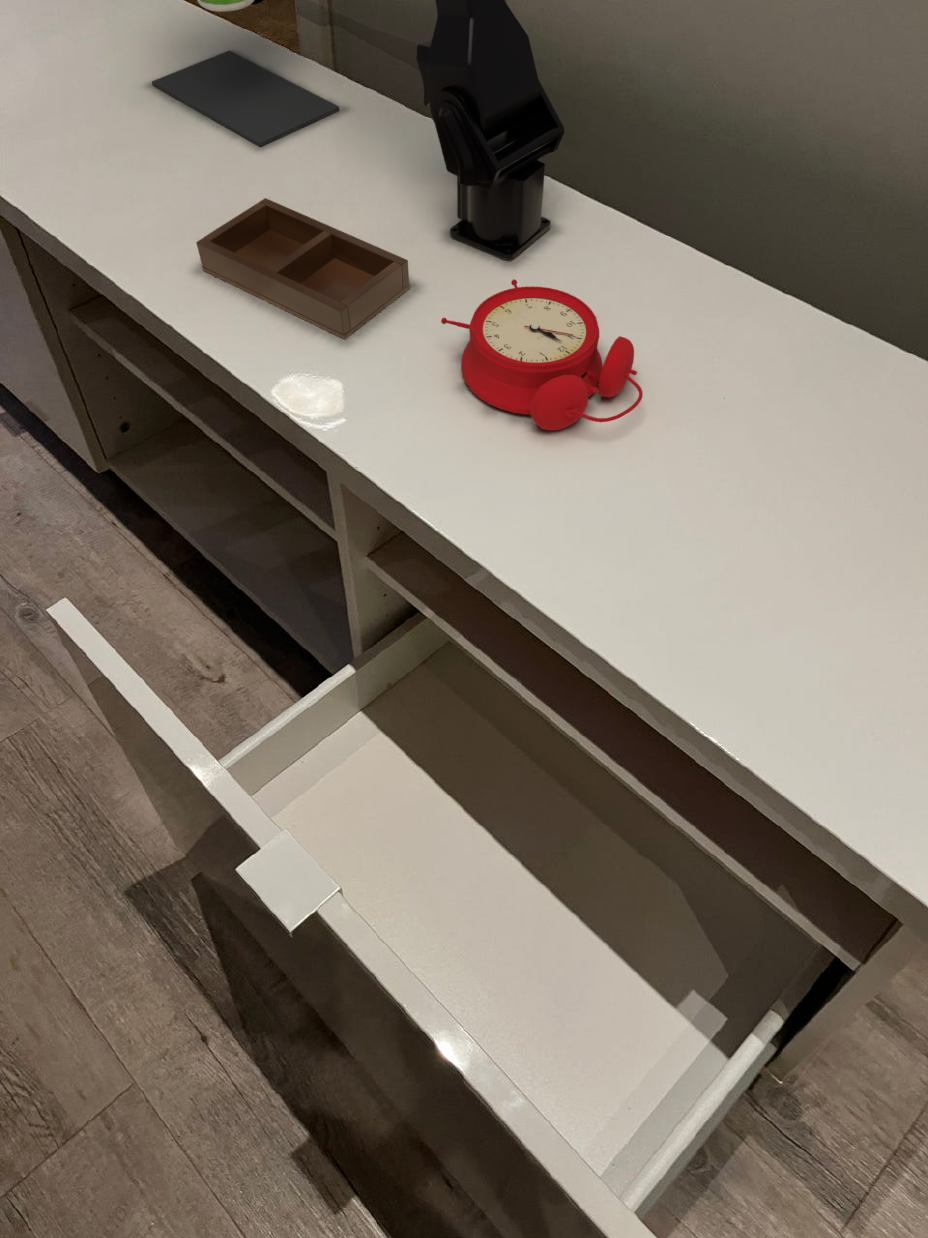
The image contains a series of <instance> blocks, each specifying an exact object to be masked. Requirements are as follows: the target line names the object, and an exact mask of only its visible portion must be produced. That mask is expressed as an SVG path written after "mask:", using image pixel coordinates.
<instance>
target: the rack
mask: <svg viewBox="0 0 928 1238" xmlns="http://www.w3.org/2000/svg"><path fill="white" fill-rule="evenodd" d="M195 243H196V247H197V251H198V255H199V258H200V259H199V260H200V262H201V266H202V267H201V268H202V271H203V272H205V273H207V274H209V275H210V276H211V275H212V276H213V277H216V278H217V279H220V280H222V281H224V282H226V283H228V284H230V285H232V286H234V287H236V288H238V289H240V290H242V291H244V292H246V293H248V294H250V295H252V296H254V297H256V298H258V299H260V300H262V301H265V302H266V303H269V304H271V305H273V306H275V307H277V308H279V309H281V310H283V311H285V312H287V313H289V314H291V315H293V316H295V317H297V318H299V319H301V320H304V321H305V322H308V323H309V324H312V325H314V326H316V327H318V328H320V329H322V330H324V331H325V332H328V333H330V334H332V335H334V336H336V337H338V338H340V339H342V340H346V339H348V338H349V337H350V336H351V335H352V334H354V333H355V332H356V331H358V330H359V329H360V328H361V327H362V326H364V325H366V324H367V323H368V322H369V321H370V320H371V319H373V318H374V317H375V316H377V315H378V314H379V313H380V312H382V311H384V310H385V308H387V307H389V305H391V304H392V303H393V302H395V301H396V300H397V299H398V298H400V297H401V296H402V295H403V294H405V293H406V292H407V291H409V290H410V273H409V260H408V259H406V258H404V257H402V256H399V255H397V254H395V253H392V252H390V251H388V250H386V249H383V248H381V247H379V246H377V245H374V244H372V243H370V242H367V241H365V240H363V239H361V238H358V237H356V236H354V235H351V234H349V233H347V232H344V231H342V230H340V229H337V228H335V227H333V226H330V225H329V224H327V223H324V222H321V221H319V220H317V219H315V218H312V217H310V216H308V215H305V214H303V213H301V212H298V211H296V210H294V209H292V208H289V207H287V206H285V205H283V204H281V203H279V202H275V201H273V200H271V199H269V198H266V197H265V198H263V199H261V200H260V201H259V202H257V203H255V204H253V205H252V206H250V207H248V208H247V209H246V210H244V211H242V212H240V213H239V214H238V215H236V216H235V217H233V218H232V219H229V220H228V221H227V222H225V223H224V224H222V225H220V226H219V227H217V228H215V229H214V230H212V231H211V232H210V233H208V234H206V235H205V236H203V238H201V239H198V240H197V241H196V242H195Z"/></svg>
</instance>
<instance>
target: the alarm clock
mask: <svg viewBox="0 0 928 1238" xmlns="http://www.w3.org/2000/svg"><path fill="white" fill-rule="evenodd" d="M510 284H511V285H512V286H513V288H508V289H505V290H501V291H499V292H496V293H494V294H493V295H490V296H489V297H487V298H486V299H485V300H483V301H481V303H480V304H479V305H478V306H477V308H476V309H475V310H474V312H473V315H472V317H471V320H470V323H469V324H468V323H464V322H460V321H454V320H448V319H447V317H442V318H441V321H440V323H441V324H442V325H446V324H449V325H453V326H457V327H459V328H462V329H468V331H469V341H468V342H467V344H466V345H465V347H464V349H463V352H462V355H461V362H460V363H461V365H460V367H461V368H460V369H461V374H462V378H463V380H464V382H465V384H466V385H467V387H468V388H469V390H470V391H471V392H472V393H473V394H474V395H475V396H476V397H478V398H479V399H480V400H482V401H483V402H485V403H486V404H488V405H490V406H492V407H495V408H497V409H499V410H502V411H506V412H510V413H514V414H521V415H530V417H531V419H532V420H533V422H534V424H535V425H537V426H538V427H539V429H543V430H546V431H559V430H563V429H565V428H568V427H569V426H572V425H573V424H575V423H576V422H577V421H578V420H579V419H580V418H583V419H586V420H588V421H591V422H596V423H607V422H611V421H615V420H618V419H620V418H622V417H624V416H626V415H627V414H629V413H630V412H632V411H633V410H634V409H635V408H636V407H638V405H639V404H640V402H642V399H643V396H644V395H643V394H644V393H643V389H642V387H641V386H640V384H638V382H636V381H635V380H634V379H633V378H632V377H631V376H630V375H633V376H636V375H637V373H638V371H637V370H634V369H632V368H633V365H634V359H635V347H634V344H633V343H632V341H631V339H629V338H627V337H624V336H621V335H619V336H618V337H616V338H615V340H614V341H613V343H612V345H611V346H610V348H609V350H608V352H607V354H606V356H605V359H604V361H603V359H602V356H601V353H600V351H599V349H598V345H599V340H600V327H599V322H598V319H597V317H596V315H595V313H594V311H593V310H592V308H591V307H589V306H588V304H587V303H585V302H584V300H583V301H582V299H580V298H578V297H577V296H575V295H573V294H570V293H568V292H566V291H563V290H560V289H556V288H551V287H545V286H534V285H533V286H518V280H517V279H515V278H514V279H512V280H511V282H510ZM627 381H628V382H630V383H631V384H632V385H633V386H634V387H635V388H636V390H637V391H638V397H637V399H636V400H635V402H634V403H633V404H632V405H631V406H629V407H628V408H627V409H625V410H624V411H622V412H620V413H618V414H616V415H612V416H609V417H595V416H592V415H587V414H585V413H584V412H585V411H586V409H587V407H588V401H589V397H590V396H592V395H594V394H595V393H596V392H598V396H600V397H603V398H613V397H614V396H617V395H618V394H619V393H621V391H622V389H623V388H624V386H625V385H626V383H627Z"/></svg>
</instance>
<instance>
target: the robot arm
mask: <svg viewBox="0 0 928 1238" xmlns="http://www.w3.org/2000/svg"><path fill="white" fill-rule="evenodd" d="M435 5H436V20H435V21H436V22H435V25H434V30H433V34H432V38H429V39H428V40H425V41H424V42H421V43H420V44H418V45H417V46H416V63H417V66H418V69H419V72H420V76H421V80H422V84H423V86H422V87H423V105H424V106H425V107H427V106H429V108H430V109H429V110H430V115H431V118H432V121H433V123H434V127H435V130H436V134H437V138H438V143H439V146H440V149H441V153H442V158H443V162H444V164H445V170H446V171H447V172H448V173H450V174H452V175H454V176H456V213H457V214H456V216H457V219H459V221H457V223H455V224H454V225H453V226H451V227H450V228H449V236H450V237H452V239H455V240H458V241H461V242H463V243H466V244H468V245H469V246H473V247H475V248H478V249H480V250H483V251H485V252H487V253H490V254H491V255H494V256H497V257H499V258H502V259H504V260H507V261H508V260H513V259H514V258H516V257H517V256H518V255H519V254H520V253H521V252H523V251H524V250H526V248H528V246H530V245H531V244H533V243H534V242H535V241H536V240H538V239H539V238H540V237H542V235H543V234H544V233H545V232H547V231H548V230H549V229H551V223H552V222H551V221H552V220H550V219H548V218H547V217H543V216H542V214H543V213H542V212H543V211H542V210H543V199H544V186H545V185H544V184H545V170H546V163H545V162H543V161H540V160H541V159H543V158H544V157H545V156H547V155H549V154H550V153H551V154H553V153H554V152H556V151H557V150H558V149H559V146H560V144H561V142H562V140H563V137H564V134H565V127H564V125H563V123H562V121H561V119H560V117H559V115H558V114H557V111H556V109H555V108H554V106H553V103H552V102H551V100H550V98H549V97H548V94H547V93H546V91H545V89H544V87H543V85H542V83H541V81H540V79H539V75H538V71H537V67H536V63H535V59H534V54H533V50H532V45H531V42H530V38H529V34H528V33H527V31H526V29H525V27H523V24H522V23H521V22H520V20H519V19H518V18H517V16H516V15H515V13H514V11H513V10H512V9H511V7H510V6H509V4H508V2H507V1H506V0H435Z"/></svg>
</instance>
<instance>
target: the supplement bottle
mask: <svg viewBox="0 0 928 1238" xmlns="http://www.w3.org/2000/svg"><path fill="white" fill-rule="evenodd" d="M254 1H255V0H197V3H198V4H199V5H200V6H201V7H202V8H203V9H206V10H208V11H212V12H233V11H238V10H242V9H245V8H247V7H249V6H251V5H252V4H253V3H254Z"/></svg>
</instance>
